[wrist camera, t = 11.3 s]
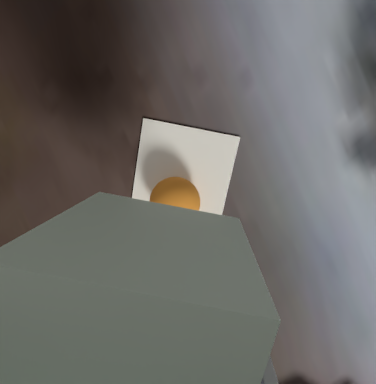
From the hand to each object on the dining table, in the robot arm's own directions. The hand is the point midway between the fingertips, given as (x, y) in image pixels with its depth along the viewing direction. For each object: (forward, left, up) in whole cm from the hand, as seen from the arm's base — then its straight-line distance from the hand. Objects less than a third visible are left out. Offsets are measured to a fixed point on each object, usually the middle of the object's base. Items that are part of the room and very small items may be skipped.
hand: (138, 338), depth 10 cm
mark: (0, -4, -18) cm, 18 cm away
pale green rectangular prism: (0, 0, -3) cm, 3 cm away
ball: (0, -1, -15) cm, 15 cm away
